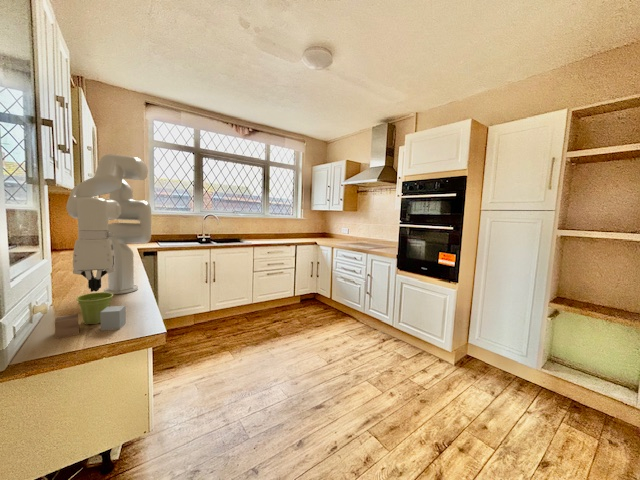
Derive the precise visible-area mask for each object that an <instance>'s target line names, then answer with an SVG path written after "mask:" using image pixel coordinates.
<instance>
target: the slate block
mask: <svg viewBox="0 0 640 480" xmlns="http://www.w3.org/2000/svg"><path fill="white" fill-rule="evenodd" d="M126 310H127V309H126V305H117V306H116V305H115V306H113V305H110V306H109V307H106V308H105V309H104V310H102V311H101V312H100V318H101V323H100V331H110V330H111V331H113V330H121V329H122V327H124V326H125V324H126V323H127V319H126V318H127V317H126V316H127V314H126V313H127V312H126Z"/></svg>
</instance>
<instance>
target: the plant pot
mask: <svg viewBox="0 0 640 480" xmlns="http://www.w3.org/2000/svg"><path fill="white" fill-rule="evenodd" d="M113 297H114V294H112V293H107V292H104V291H103V292H91V293H90V292H89V293H87V294H82V295H79V296H77V297H76V298H75V299H76V301H77V302H78V305H79V307H80V312H81V315H82V321H83V324H85V325H98V324H101V318H100V312H101V311H102V310H104V309H105V308H106V307H110V306H111V305H110V304H111V301H112V298H113Z"/></svg>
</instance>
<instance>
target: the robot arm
mask: <svg viewBox="0 0 640 480" xmlns="http://www.w3.org/2000/svg"><path fill="white" fill-rule="evenodd" d="M148 171H149V170H148V166H147V164H146V163H145V162H144V161H143V160H142V159H140V158H138V157H136V156H135V157H134V156H131V155H130V156H129V155H121V154H104V155H102V156H101V157H100V159H99V161H98V164H97V167H96V170H95V173H94V176H93V177H90V178H87V179H86V180H83V181H81V182H80V183H77V185H75V186H74V187H73V188H72V189H71V192H70V194H69V196H68V199H67V202H66V212H67V214H68V216H69V217H71V218H72V219H76V220H77V235H78V236H77V237H78V239H75V242H74V246H73V251H72V252H73V253H72V254H73V255H72V269H73V270H72V274H73V275H79V276H80V275H81V276H82V277H84V278H86V280H87V282H88V283H87V284H88V286H87V287H88V289H89V290H90V292H91V293H94V292H99V290H100V289H101V288H102V278H103V277H104V276H105V275H107V274H108V275H107V280H108V281H107V283H108V284H107V285H108V286H107V287H106V288H104V289H103V292H107V293H112V294H113V295H121V294H130V293H132V292H136V291H137V290H138V289H139V286H138V285H135V280H134V279H135V277H134V276H135V275H134V274H135V273H134V272H135V271H134V267H135V266H134V264H135V263H134V262H135V261H134V252H133V250H132V248H131V247H130V246H129V245H128V244H133V245H134V244H147V243H150V241H151V239H152V207H151V205H150V203H149V202H148V201H146V200H140V199H139V200H137V199H136V200H135V199H134V198H133V197H134V196H133V188H132V186H130V184H129V183H128V182H127V181H126V180H134V181H135V180H136V181H145V180H146V179H147V177H148ZM104 195H109V198H99V197H98V196H104ZM113 220H119V221H121V220H122V221H138V222H137V223H136V222H111V223H109V221H113ZM94 271H96V273H95V274H96V276H95V275H94Z"/></svg>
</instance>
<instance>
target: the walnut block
mask: <svg viewBox="0 0 640 480" xmlns="http://www.w3.org/2000/svg"><path fill="white" fill-rule="evenodd" d="M79 323H80V321H79V313H72V314H65V315H60V316H59V315H58V316H55V320H54V334H55V339H60V338H67V337H72V336H77V335H79V334H80V332H79V331H80V327H79Z"/></svg>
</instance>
